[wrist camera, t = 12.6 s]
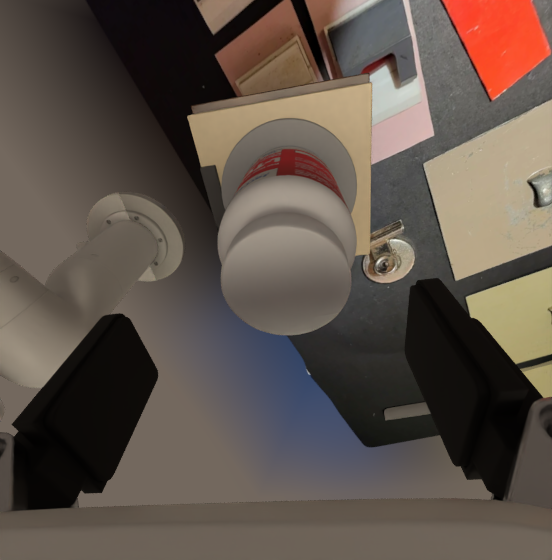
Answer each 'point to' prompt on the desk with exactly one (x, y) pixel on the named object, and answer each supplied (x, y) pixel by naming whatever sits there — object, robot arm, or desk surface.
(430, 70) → the desk surface
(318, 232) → the pill bottle
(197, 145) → the scale
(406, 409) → the gray half cylinder
